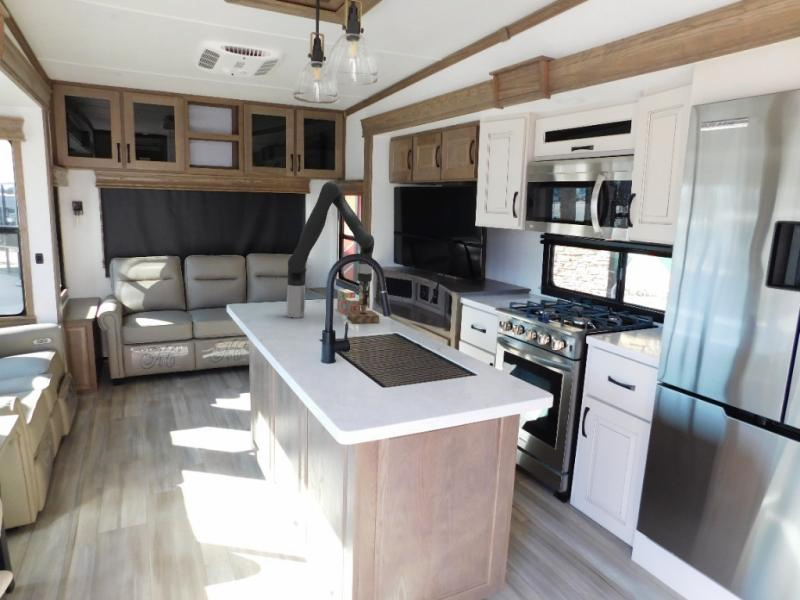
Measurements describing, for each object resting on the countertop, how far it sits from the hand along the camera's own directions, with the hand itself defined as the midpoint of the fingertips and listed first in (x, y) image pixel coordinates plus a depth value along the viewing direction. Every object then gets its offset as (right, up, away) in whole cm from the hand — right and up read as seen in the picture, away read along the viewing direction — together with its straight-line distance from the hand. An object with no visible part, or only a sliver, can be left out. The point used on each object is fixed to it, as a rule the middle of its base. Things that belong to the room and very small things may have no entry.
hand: (363, 303), depth 291 cm
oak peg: (0, -4, +1) cm, 4 cm away
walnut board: (0, -9, +2) cm, 9 cm away
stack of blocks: (-10, -6, +19) cm, 23 cm away
